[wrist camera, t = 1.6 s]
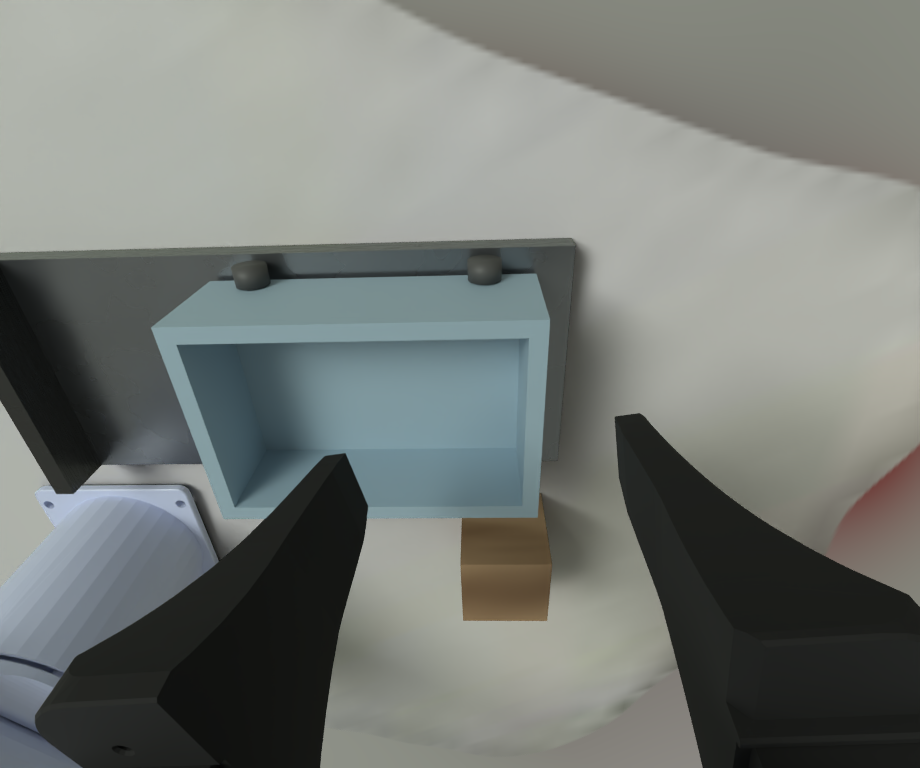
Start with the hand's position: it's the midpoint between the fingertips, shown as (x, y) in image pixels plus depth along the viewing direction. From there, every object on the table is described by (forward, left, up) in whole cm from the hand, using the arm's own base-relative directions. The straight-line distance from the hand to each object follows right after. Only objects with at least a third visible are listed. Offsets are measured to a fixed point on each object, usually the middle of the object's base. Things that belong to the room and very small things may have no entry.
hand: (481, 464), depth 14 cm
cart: (-2, +4, -8) cm, 9 cm away
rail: (-2, +8, -9) cm, 12 cm away
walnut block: (-12, -1, -9) cm, 15 cm away
